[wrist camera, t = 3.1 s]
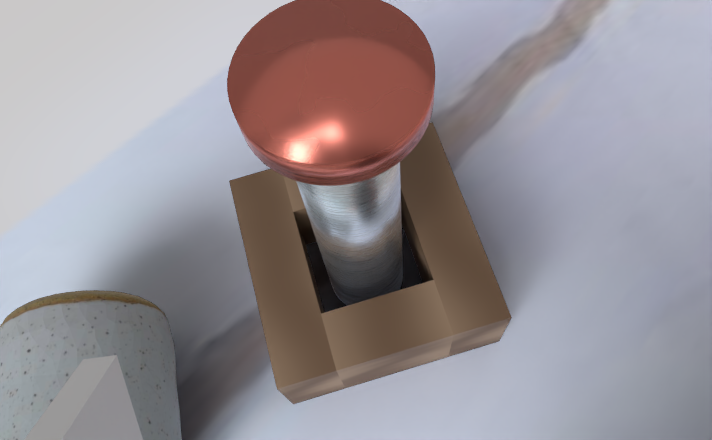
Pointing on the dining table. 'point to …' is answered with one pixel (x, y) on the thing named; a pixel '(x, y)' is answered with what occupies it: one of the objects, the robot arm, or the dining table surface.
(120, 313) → the ceramic mug
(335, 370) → the eye block
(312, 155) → the red-capped mushroom
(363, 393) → the dining table surface
